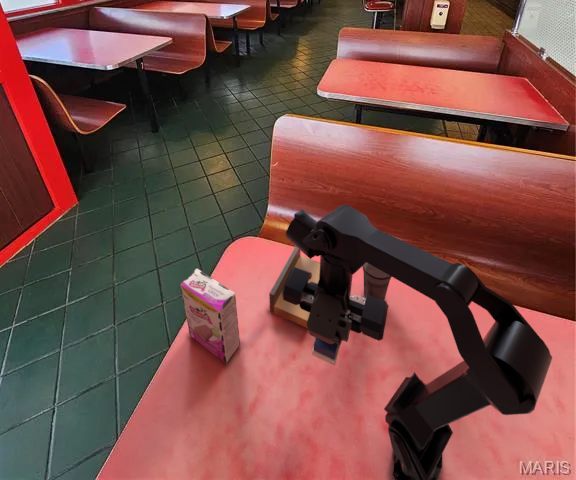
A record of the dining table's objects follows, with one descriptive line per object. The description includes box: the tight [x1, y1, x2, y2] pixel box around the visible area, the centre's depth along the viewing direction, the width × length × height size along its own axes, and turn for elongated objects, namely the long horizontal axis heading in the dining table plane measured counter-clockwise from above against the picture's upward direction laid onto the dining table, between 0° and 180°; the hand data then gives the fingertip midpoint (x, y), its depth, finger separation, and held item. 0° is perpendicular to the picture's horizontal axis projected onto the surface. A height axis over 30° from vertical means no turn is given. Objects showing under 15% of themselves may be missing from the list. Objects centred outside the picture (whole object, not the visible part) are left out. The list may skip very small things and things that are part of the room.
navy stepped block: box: [311, 337, 342, 366], centre depth 63 cm, size 10×4×5 cm, turn 156°
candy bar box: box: [179, 268, 241, 365], centre depth 69 cm, size 11×5×16 cm, turn 58°
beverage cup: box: [361, 262, 392, 301], centre depth 77 cm, size 7×7×20 cm
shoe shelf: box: [268, 245, 320, 329], centre depth 82 cm, size 10×16×6 cm, turn 155°
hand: (331, 330), depth 63 cm, fingers closed on navy stepped block, 4 cm apart
